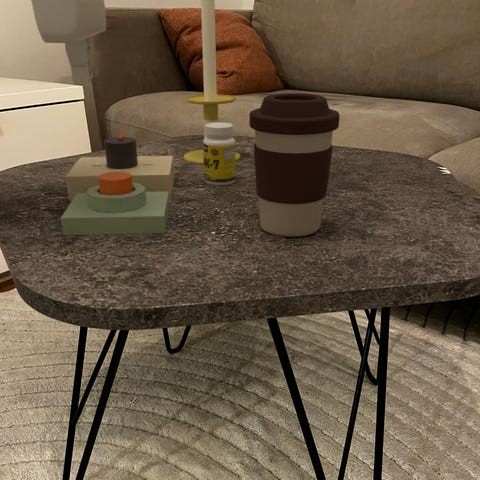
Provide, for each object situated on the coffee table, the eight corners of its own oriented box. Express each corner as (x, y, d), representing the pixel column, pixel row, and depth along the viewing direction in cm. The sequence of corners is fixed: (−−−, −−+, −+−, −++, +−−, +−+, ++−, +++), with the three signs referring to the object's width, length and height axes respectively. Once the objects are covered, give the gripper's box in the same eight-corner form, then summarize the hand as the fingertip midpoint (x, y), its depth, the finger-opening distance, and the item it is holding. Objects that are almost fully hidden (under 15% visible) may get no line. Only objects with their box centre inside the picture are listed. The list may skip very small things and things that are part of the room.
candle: (239, 164, 99) (238, -21, 86) (180, 164, 99) (170, -21, 87) (241, 150, 108) (240, -20, 95) (187, 150, 108) (179, -19, 95)
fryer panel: (68, 201, 81) (65, 175, 79) (83, 180, 91) (80, 156, 89) (170, 199, 82) (169, 173, 80) (174, 178, 92) (173, 154, 90)
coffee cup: (333, 216, 75) (342, 91, 68) (328, 245, 66) (339, 105, 59) (256, 212, 77) (257, 89, 69) (242, 239, 68) (242, 102, 61)
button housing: (63, 235, 69) (57, 202, 68) (78, 209, 78) (74, 179, 76) (165, 233, 70) (163, 200, 68) (169, 207, 79) (167, 177, 77)
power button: (97, 197, 71) (95, 180, 70) (102, 188, 74) (100, 171, 73) (131, 196, 71) (129, 179, 70) (134, 187, 74) (133, 171, 73)
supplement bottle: (197, 182, 90) (195, 124, 86) (220, 176, 93) (219, 120, 89) (219, 188, 87) (218, 129, 83) (242, 182, 90) (241, 124, 86)
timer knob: (136, 168, 83) (133, 141, 81) (104, 169, 83) (101, 141, 81) (139, 161, 87) (137, 134, 85) (109, 161, 87) (106, 135, 85)
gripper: (57, -57, 69) (72, 70, 76) (7, -73, 51) (32, 95, 58) (112, -56, 70) (122, 71, 76) (80, -72, 52) (97, 95, 58)
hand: (83, 81), depth 67 cm, fingers closed
